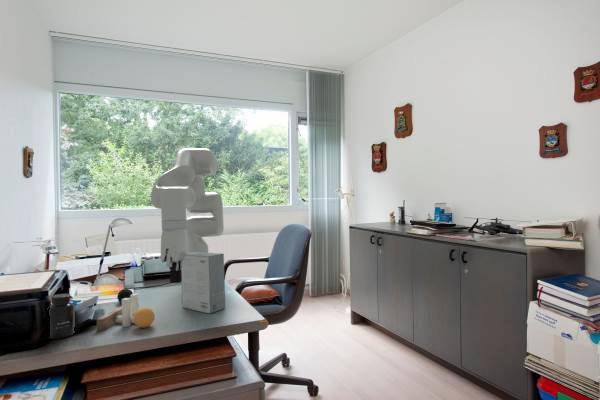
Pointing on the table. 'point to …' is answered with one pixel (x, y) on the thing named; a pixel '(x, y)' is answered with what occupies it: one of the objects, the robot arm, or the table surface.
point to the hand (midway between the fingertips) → (176, 282)
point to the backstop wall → (108, 319)
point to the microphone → (124, 294)
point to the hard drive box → (203, 282)
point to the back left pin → (126, 312)
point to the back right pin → (134, 304)
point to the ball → (144, 317)
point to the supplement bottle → (61, 316)
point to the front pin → (119, 319)
